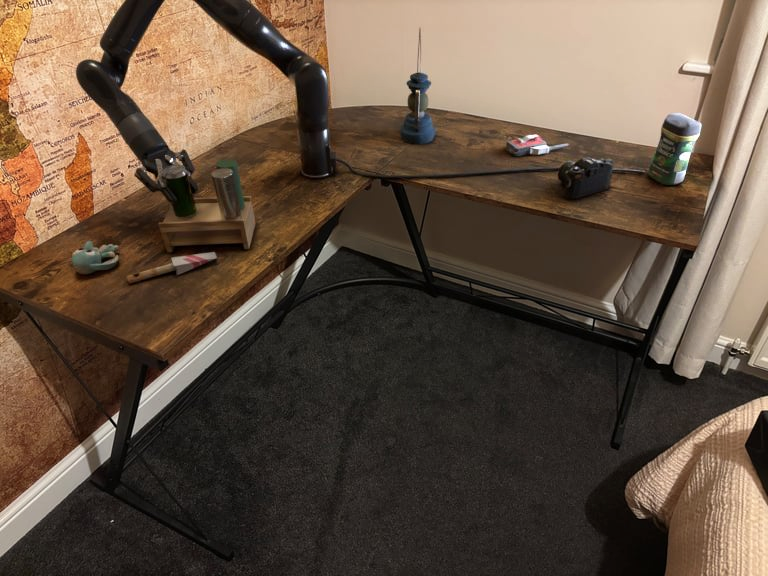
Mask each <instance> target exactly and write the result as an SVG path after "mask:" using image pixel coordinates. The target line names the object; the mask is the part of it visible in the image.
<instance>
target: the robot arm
mask: <svg viewBox="0 0 768 576" xmlns="http://www.w3.org/2000/svg"><path fill="white" fill-rule="evenodd" d="M165 1H166V0H124V1H123V3H122V4H121V5H120V6H119V8H118V9H117V10H116V12H115V13H114V15H113V17H112V18H111V20H110V21H109V23H108V25H107V27H106V28H105V30H104V33H103V34H102V36H101V38H100V40H99V47H100V49H101V50H102V51H103V53H102V56H101V59H100V61H98V60H95V59H92V58H91V59H90V58H88V59H83V60H81V61H80V62H79V63H78V64H77V66H76V68H75V78H76V80H77V82H78V83H77V84H78V85H79V86H80V87H81V89H82V91H84V93H85V94H86V95H87V96H88V97H89V98H90V99H91V100H92V101H93V102H94V103H95V104H96V105H97V107H98V108H100V109H101V110H103V112H104V113H105V114H106V115H107V118H108V119H109V120H110V121H111V123H112V124H113V125H114V127H115V128H116V129H117V131H118V133H119V134H120V136H121V138H122V140H123V141H124V143H125V144H126V145H127V147H128V148H129V149H130V150H131V152H132V153H133V154H134V156H135V157H136V158H137V160H138V161H139V162H140V163H141V167H137V168H136V169H135V172H134V174H133V175H134V177H135V178H136V180H138V181H139V182H140V183H141V184H143V185H144V186H145V187H146V188H147V189H148V191H150V192H151V193H155V192H160V193H161V194H162V195H163V197H164V198H165V199H166V200H167V202H169V203H170V204H171V203H172V204H174V203H176V202H177V198H176V196H175V195H174V194H173V192H172V191H171V189H170V188H169V187H167V186H166V182H165V179H164V176H163V174H164V172H163V170H164V169H165V168H166V167H168V166H171V165H182V166H184V167H185V169H186V170H187V173H188V177H189V181H190V185H191V189H192V193H193V195H195V194H197V193H198V191H199V186H198V184H197V183H196V181H195V180H194V178H193V177H192V176H193V174H194V172H195V171H196V168H195V166H194V163H193V162H192V160H191V158H190V155H189V154H188V152H187V150H186V149H181V150H180V151H178V152H175V151H173V150H172V149H171V148H170V147H169V145H168V143H167V141H165V139H164V138H163V136H162V135H161V134H160V132H159V131H158V129H157V128H156V127H155V125H154V124H153V123H152V121H151V120H150V119H149V118H148V117H147V116H146V115H145V113H144V112H143V111H142V109H141V108H140V107H139V105H138V104H137V103H136V102H135V100H134V99H133V98H132V97H131V96H130V95H129V94H128V93H126V92H124V91H123V90H122V89H121V88H122V87H123V85H124V84H125V83H124V82H125V80H126V76H127V74H128V70H129V66H130V61H131V59H132V57H133V55H134V54H135V52H136V50H137V49H138V47H139V45H140V44H141V42H142V41H143V38H144V36H145V34H146V33H147V31H148V29H149V27H150V25H151V23H152V22H153V20H154V18H155V16H156V15H157V13H158V12H159V10H160V8H161V7H162V5H163V4H164V3H165ZM192 1H193V2H194V3H195V4H196V5H197V6H199V8H200V9H201V10H202V11H203V12H204V13H205V14H206V15H207V16H208V17H209V18H211V19H212V21H213V22H215V23H216V24H217V25H218V26H220V27H221V29H223V30H224V31H225V32H226V33H227V34H228V35H229V36H231V37H232V38H233V39H234V40H236V41H237V42H238V43H240V44H241V45H242V46H244V47H245V48H247V49H248V50H249V51H251V52H253V53H254V54H256V55H258V56H260V57H262V58H264V59H266V60H267V61H269V63H271V64H272V65H273V66H275V68H277V69H278V71H280V72H281V74H283V75H284V76H285V77H286V79H287V80H288V81H289V82H290V84H291V85H293V87H294V89H295V96H296V97H295V99H296V106H295V109H294V113H295V122H296V123H295V124H296V132H297V140H298V148H299V160H300V164H301V165H300V167H301V174H302V176H304V177H306V178H309V179H323V178H326V177H330V176H333V171H334V169H333V168H337V162H338V163H340V164H343V165H344V166H346V167H347V168H348V170H349V171H350V172H352V173H354V174H355V175H358V176H362V177H367V178H375V179H429V178H431V179H432V178H433V179H434V178H448V177H449V178H452V177H465V176H477V175H478V176H479V175H490V174H492V175H493V174H503V173H504V174H505V173H515V172H517V173H518V172H533V171H559V169H560V167H561V166H545V167H543V166H541V167H540V166H539V167H523V168H509V169H508V168H507V169H495V170H482V171H470V172H469V171H468V172H456V173H439V174H438V173H437V174H415V175H414V174H405V175H403V174H397V175H396V174H391V175H390V174H389V175H388V174H383V175H382V174H374V173H365V172H364V173H363V172H360V171H358V170H356V169H354V168H353V167H352V165H350V163H348V162H347V161H345V160H343V159H341V158H338V157H337V151H332V141H331V135H330V124H329V122H330V121H329V108H330V93H329V91H330V90H329V79H328V73H327V70H326V68H325V67H324V66H323V65H322V64H321V63H320V62H319V61H318V60H317V59H316V58H314V57H312V56H311V55H309V54H307V53H306V52H305V51H303V50H301V49H300V48H299V47H297V46H296V45H295V44H293V43H292V42H291V41H289V40H288V39H287V38H285V36H284V35H283V34H282V32H280V30H279V29H278V28H277V27H276V26H275V25H274V23H273V22H272V21H271V20H270V19H269V18H268V17H267V16H266V15H265V14H264V13H263V12H262V11H260V9H258V8H257V7H256V6H255V5H254V4H253V3H252V2H251V1H249V0H192ZM177 160H178V161H179V162H181V164H180V163H179V162H178V161H177ZM612 172H617V173H631V174H642V175H644V174H646V173H645V172H646V171H645V170H640V169H629V168H628V169H627V168H614V167H613V171H612ZM148 173H150V174H152V175H153V176H154V177H153V178H154V180H153V178H151V177H150V176H149V175H148ZM172 204H171V205H172Z"/></svg>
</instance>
